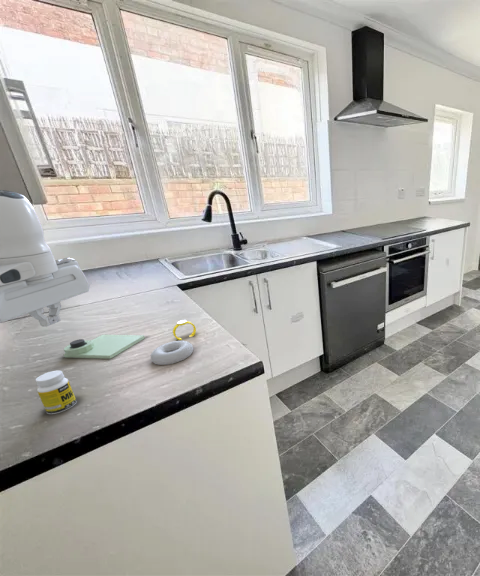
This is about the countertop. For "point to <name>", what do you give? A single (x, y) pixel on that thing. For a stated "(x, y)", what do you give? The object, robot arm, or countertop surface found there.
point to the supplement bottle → (55, 392)
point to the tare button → (77, 343)
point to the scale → (103, 346)
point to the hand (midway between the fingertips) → (51, 323)
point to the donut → (171, 352)
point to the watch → (184, 324)
